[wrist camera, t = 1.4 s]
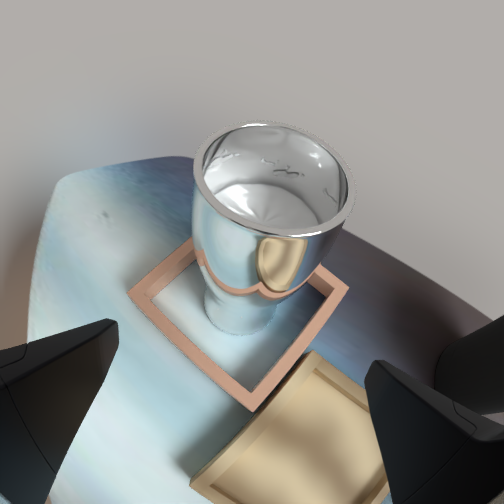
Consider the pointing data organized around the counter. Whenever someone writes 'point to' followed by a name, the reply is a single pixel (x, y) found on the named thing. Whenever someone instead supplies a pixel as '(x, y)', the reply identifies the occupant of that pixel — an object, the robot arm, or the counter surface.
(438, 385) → the pen holder
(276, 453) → the tray
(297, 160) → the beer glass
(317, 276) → the brown square frame
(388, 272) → the counter surface
